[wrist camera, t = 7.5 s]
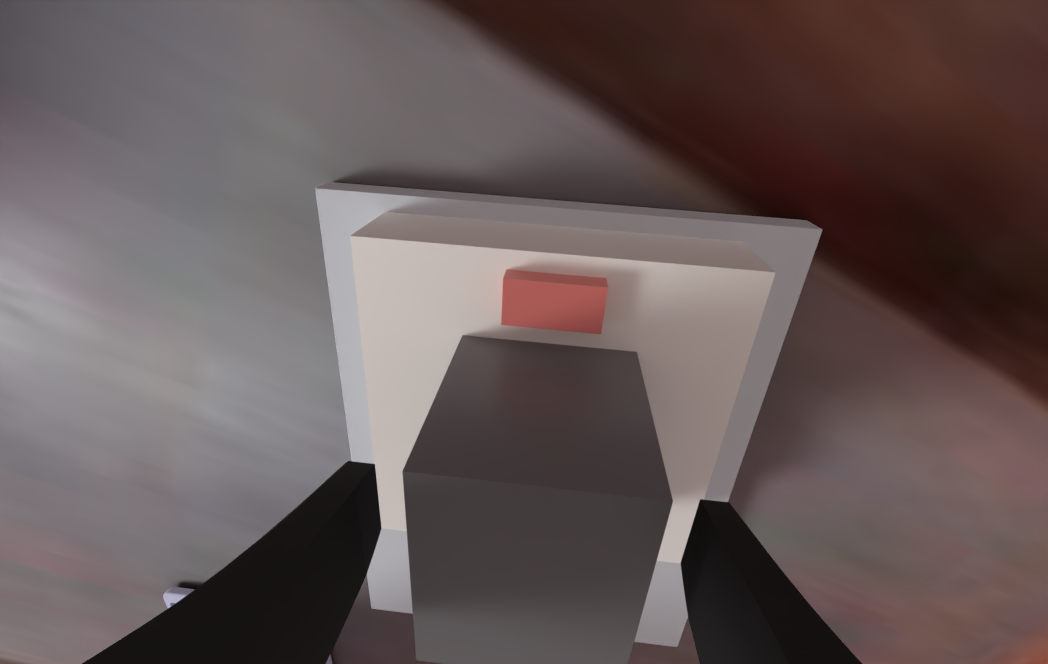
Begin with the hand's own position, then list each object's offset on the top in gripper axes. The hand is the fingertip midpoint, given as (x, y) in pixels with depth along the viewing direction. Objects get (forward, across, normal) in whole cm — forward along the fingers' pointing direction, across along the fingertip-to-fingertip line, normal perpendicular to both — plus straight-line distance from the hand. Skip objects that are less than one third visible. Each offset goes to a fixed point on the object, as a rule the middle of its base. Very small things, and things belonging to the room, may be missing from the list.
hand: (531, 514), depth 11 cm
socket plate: (+6, 0, 0) cm, 6 cm away
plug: (+4, 0, 0) cm, 4 cm away
